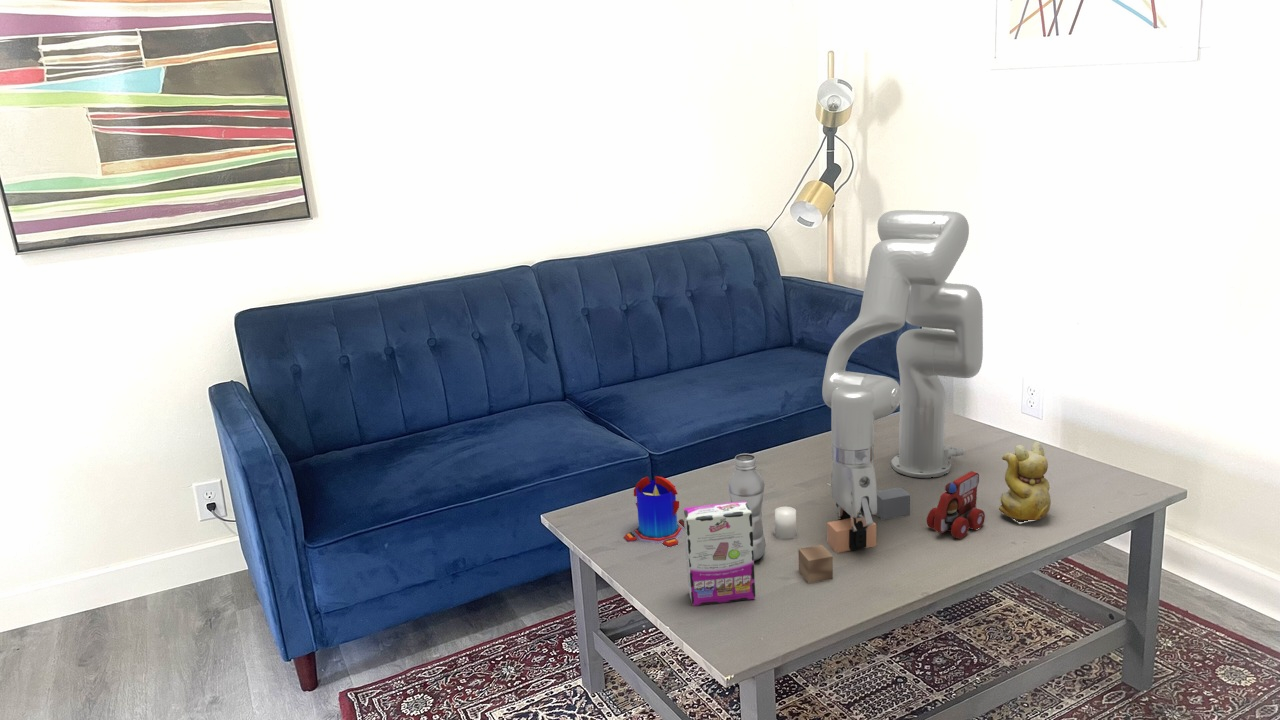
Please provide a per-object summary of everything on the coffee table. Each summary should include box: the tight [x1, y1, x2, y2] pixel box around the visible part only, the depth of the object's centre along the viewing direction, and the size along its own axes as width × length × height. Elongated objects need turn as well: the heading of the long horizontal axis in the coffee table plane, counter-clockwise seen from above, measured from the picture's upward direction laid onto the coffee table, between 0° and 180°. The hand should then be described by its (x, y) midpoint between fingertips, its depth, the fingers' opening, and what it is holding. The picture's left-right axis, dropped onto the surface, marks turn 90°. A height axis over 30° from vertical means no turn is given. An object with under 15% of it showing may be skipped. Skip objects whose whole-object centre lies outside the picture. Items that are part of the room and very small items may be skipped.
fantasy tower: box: [622, 476, 684, 548], centre depth 181 cm, size 12×12×12 cm
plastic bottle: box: [727, 453, 767, 562], centre depth 168 cm, size 6×7×20 cm
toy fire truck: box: [926, 471, 986, 540], centre depth 175 cm, size 7×12×10 cm, turn 128°
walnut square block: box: [797, 544, 834, 584], centre depth 162 cm, size 4×4×4 cm
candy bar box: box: [682, 501, 756, 607], centre depth 156 cm, size 11×5×16 cm, turn 96°
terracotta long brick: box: [826, 517, 877, 554], centre depth 172 cm, size 8×4×4 cm, turn 104°
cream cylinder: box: [774, 506, 797, 540], centre depth 178 cm, size 4×4×5 cm
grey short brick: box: [876, 486, 911, 521], centre depth 183 cm, size 6×4×4 cm, turn 104°
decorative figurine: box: [998, 441, 1052, 522], centre depth 177 cm, size 10×8×15 cm
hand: (852, 541), depth 173 cm, fingers closed on terracotta long brick, 3 cm apart
